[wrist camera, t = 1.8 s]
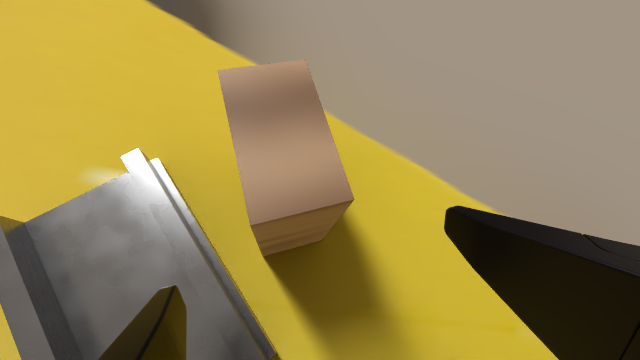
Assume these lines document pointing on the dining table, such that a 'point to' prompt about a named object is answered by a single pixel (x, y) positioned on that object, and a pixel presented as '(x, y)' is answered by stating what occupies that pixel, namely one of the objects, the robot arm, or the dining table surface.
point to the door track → (119, 272)
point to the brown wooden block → (284, 154)
